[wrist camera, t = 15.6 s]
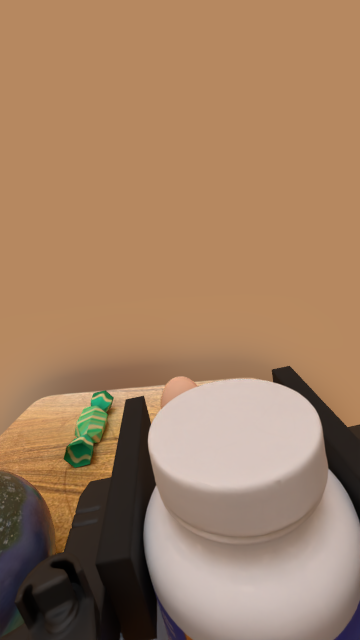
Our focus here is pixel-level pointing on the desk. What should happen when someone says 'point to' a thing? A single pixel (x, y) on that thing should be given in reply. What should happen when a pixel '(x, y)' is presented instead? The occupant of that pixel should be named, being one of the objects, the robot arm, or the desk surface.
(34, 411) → the desk surface
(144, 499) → the robot arm
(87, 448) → the candy
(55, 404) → the desk surface
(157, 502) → the pill bottle
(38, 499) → the vase
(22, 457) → the desk surface
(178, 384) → the egg
